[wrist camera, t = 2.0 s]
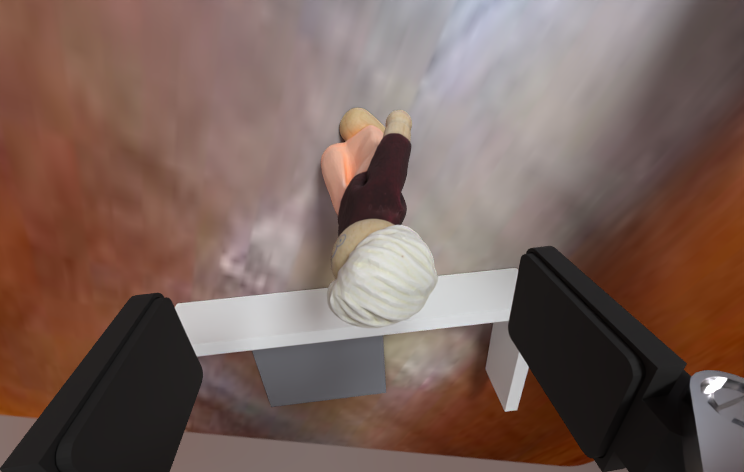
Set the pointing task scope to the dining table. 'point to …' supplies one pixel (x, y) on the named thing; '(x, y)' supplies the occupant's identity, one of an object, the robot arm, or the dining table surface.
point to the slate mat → (322, 370)
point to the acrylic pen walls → (319, 324)
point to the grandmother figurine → (374, 224)
